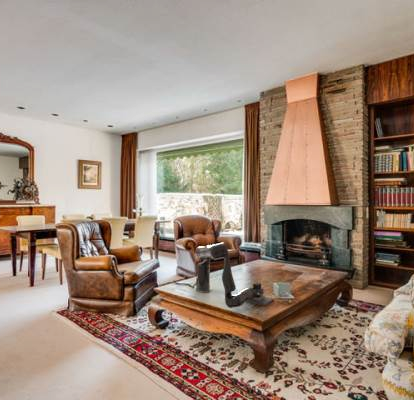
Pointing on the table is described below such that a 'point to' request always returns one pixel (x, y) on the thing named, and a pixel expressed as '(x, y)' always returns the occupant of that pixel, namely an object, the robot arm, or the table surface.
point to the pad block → (257, 286)
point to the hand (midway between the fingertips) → (258, 289)
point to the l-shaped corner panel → (282, 290)
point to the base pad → (261, 300)
